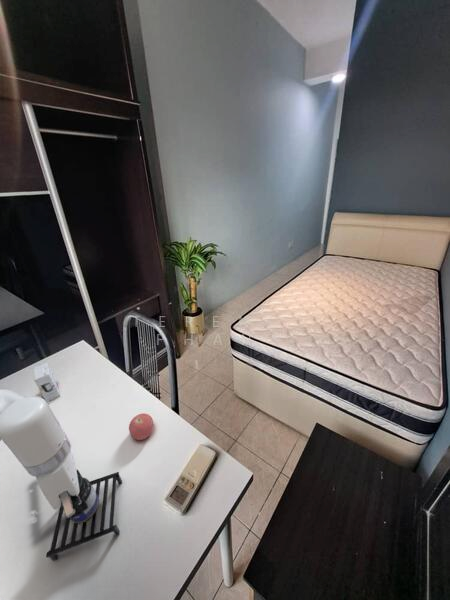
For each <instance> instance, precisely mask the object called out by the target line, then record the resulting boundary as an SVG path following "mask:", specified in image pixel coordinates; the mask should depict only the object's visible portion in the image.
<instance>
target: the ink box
mask: <svg viewBox="0 0 450 600" xmlns="http://www.w3.org/2000/svg"><path fill="white" fill-rule="evenodd" d="M32 369H33V381H34V383H35V384H36V386H37V388H38V390H39V392H40V393H41V395H42V397H43V399H44V400H45V401H46V402H47V403H48V402H49V401H52V400H54V399H57V398H58V397H59V398H60V396H61V394H60V390H59V386H58V382H57V380H56V378H55V376H54V373H53V372H52V369H51V367H50V365H49V363H48V362H45V363H42V364H40V365H38V366H35V367H33V368H32Z"/></svg>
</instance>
